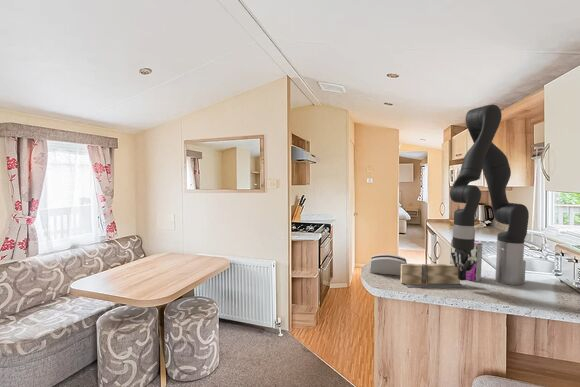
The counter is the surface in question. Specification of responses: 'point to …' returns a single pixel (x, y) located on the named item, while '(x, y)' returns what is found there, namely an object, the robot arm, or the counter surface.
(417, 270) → the fence fixed
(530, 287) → the counter surface
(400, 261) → the white plastic device
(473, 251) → the candy bar box
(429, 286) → the mat
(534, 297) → the counter surface
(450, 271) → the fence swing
